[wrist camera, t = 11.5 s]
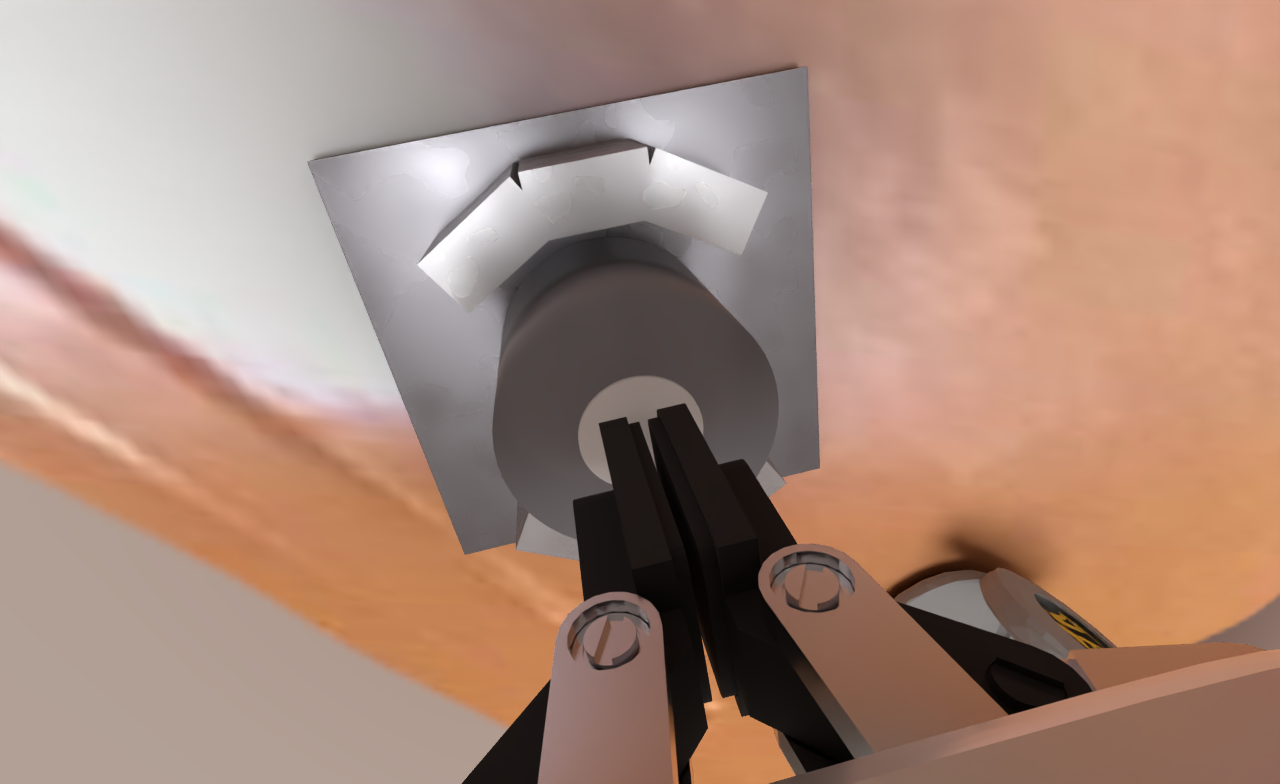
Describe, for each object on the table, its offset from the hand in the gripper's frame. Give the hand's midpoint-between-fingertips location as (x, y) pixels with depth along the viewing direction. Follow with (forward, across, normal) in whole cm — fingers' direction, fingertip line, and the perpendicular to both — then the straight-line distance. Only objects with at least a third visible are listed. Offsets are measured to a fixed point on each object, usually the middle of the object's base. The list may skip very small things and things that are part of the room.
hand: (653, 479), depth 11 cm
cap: (+6, 0, 0) cm, 6 cm away
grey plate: (+7, 0, 0) cm, 7 cm away
